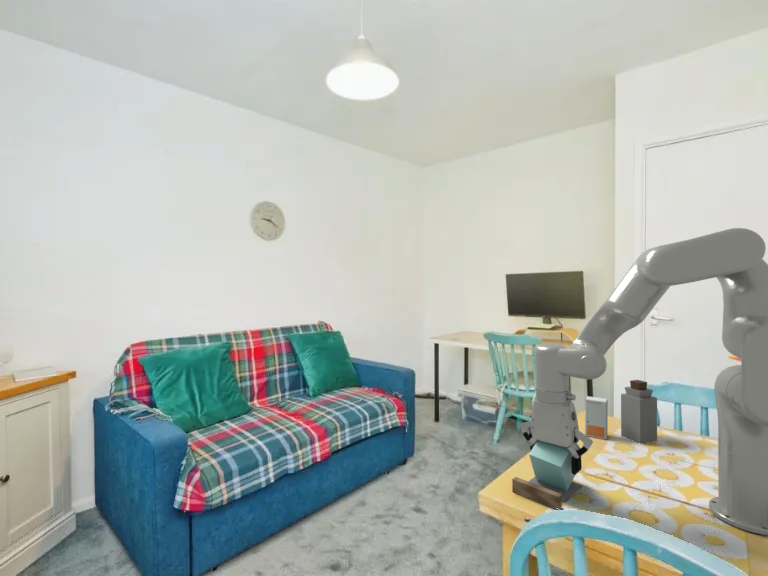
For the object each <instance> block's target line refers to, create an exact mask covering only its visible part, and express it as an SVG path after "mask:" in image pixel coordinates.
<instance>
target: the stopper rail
mask: <svg viewBox="0 0 768 576" xmlns="http://www.w3.org/2000/svg"><path fill="white" fill-rule="evenodd" d="M511 481H512V483H511V486H512V488H511V489H512V492H513V493H514V494H516V495H520V496H523V497H525V498H527V499H530V500H531V501H534V502H537V503H539V504H542V505H544V506H546V507H549V508H551V507H554V508H558V509H560V510H561V509H562V508H563V502H562V494H560V493H557V492H555V491H552V490H549V489H547V488H544V487H541V486H539V485H536V484H533V483H531V482H528V481H529V480H525V479H523V478H519V477H517V476H515V477H513V478H512V480H511ZM561 507H562V508H561ZM554 508H553V509H554Z"/></svg>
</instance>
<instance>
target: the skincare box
mask: <svg viewBox="0 0 768 576" xmlns="http://www.w3.org/2000/svg"><path fill="white" fill-rule="evenodd" d="M608 401H609V399H608V398H604V397H597V396H589V395H587V396H586V398H585V404H584V405H585V409H584V410H585V414H584V417H585V418H584V423H585V424H584V425H585V427H584V428H585V429H584V430H585V432H584V435H586V436H587V437H592V438H597V439H601V440H604V441H605V440H607V437H608V424H609V422H608V421H609V419H608V412H609V410H608V407H609V405H608V404H609V403H608Z"/></svg>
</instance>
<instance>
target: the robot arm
mask: <svg viewBox="0 0 768 576" xmlns="http://www.w3.org/2000/svg"><path fill="white" fill-rule="evenodd" d="M765 254H766V243H765V241H764V239H763V238H762V236H761V235H760V234H759V233H757V232H755V231H754V230H752V229H748V228H742V227H734V228H733V227H732V228H729V229H725V230H721V231H717V232H713V233H710V234H705V235H701V236H697V237H694V238H690V239H685V240H681V241H677V242H672V243H667V244H662V245H661V244H660V245H658V246H654V247H652V248H648V249H646V250H645V251H643V252H642V253H640V255H639V256H638V257H637V258H636V259H635V261H634V263H632V265H631V266H630V268H629V269H628V271H627V272H626V273H625V274H624V276H623V277H622V279H621V280H620V281H619V282H618V284H617V286H615V288H614V289H613V290H612V292H611V293H610V294H609V296H608V297H607V299H606V300H605V301H604V302H603V303H602V304H601V306H599V308H598V310H597V311H596V313H595V314H594V315H593V316H592V317H591V319H589V321H588V322H587V323H586V325H585V326H583V328H582V330H581V331H580V332H579V334H578V335H577V336H576V337H575V339H574V340H573V342H572V343H571V345H570V346H569V347H566V346H565V345H563V344H562V345H561V344H558V343H541V344H538V345H537V346H536V347H535V348H534V375H535V398H534V400H533V403H532V409H531V419H530V420H528V421H526V422H523V423H521V424H519V428H520V430H521V433H522V435H523V437H524V439H525V440H526V441H527V444H528V445H529V449H530V452H531V450H532V449H533V447H534V445H535V444H536V442H537V440H539V441H542V442H546V443H550V444H554V445H557V446H561V447H566V448H568V449H569V451H570V452H571V453H572V455H573V456H572V457H571V470H572V474H574V475H575V476H577V474H578V473H579V472H581V470H582V456H583V455H584V454H586V453H588V451H589V450H590V448H591V447H592V446H593V442H594V440H593V439H592V438H590V436H586V435H585V433H583V432H582V431H580V430H579V428H580V427H579V421H578V415H577V411H576V407H575V404H574V402H573V401H576V394H573V393H571V390H570V377H571V378H577V379H581V380H596V379H598V378H600V377H602V376H603V375H604V374H605V372H606V370H607V359H606V357H605V354H607V352H608V351H609V349H610V348H611V347H612V346H613V345H614V344H615V342H616V341H617V340H618V339H619V338H621V336H623V334H624V333H626V332H628V331H630V330H632V329H634V328H636V327H637V326H639V325H641V324H642V322H643V321H644V320H646V318H647V317H648V315H649V314H650V313H651V311H653V309H654V307H655V306H656V305H657V304H658V302H659V301H660V300H661V299H662V297H663V296H664V294H666V292H667V291H669V289H670V287H673V286H679V285H684V284H689V283H695V282H700V281H705V280H709V279H715V278H716V279H717V280H718V282H719V284H720V286H721V289H722V301H723V311H722V328H721V329H722V331H721V341H722V345H723V347H724V348H725V349H726V351H727V352H729V353H730V354H731V355H733V356H735V357H737V358H739V359H740V360H741V364H735V365H731V366H728V367H726V368H724V369H722V370H721V371H720V372H719V374H718V375H717V376H716V379H715V381H714V390H713V391H714V398H715V404H716V411H717V412H716V413H717V424H718V428H717V430H718V431H717V434H718V437H717V439H718V440H717V441H718V444H717V445H718V446H717V449H718V451H717V452H718V457H717V458H718V459H717V460H718V461H717V462H718V465H717V466H718V469H717V470H718V474H717V475H718V476H717V477H718V481H717V483H718V486H717V487H718V489H717V490H718V491H717V492H718V494H717V495H718V496H716V497H713V498H711V499H710V500H708V501H709V502H708V507H709V510H710V512H711V513H712V514H713V515H714V516H716V517H717V518H718V519H720V520H721V521H722V522H725V523H726V524H729V525H731V526H734V527H735V528H737V529H740V530H744V531H747V532H750V533H754V534H758V535H762V536H768V263H767V262H766V261H765V260H764V259H763V258H764V256H765ZM529 428H531V429H530V430H531V432H530V430H529ZM580 441H581V442H582V443H583V445H582V447H580V445H579V444H578V443H579V442H580ZM530 452H529V453H530Z"/></svg>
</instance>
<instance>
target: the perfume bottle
mask: <svg viewBox="0 0 768 576" xmlns="http://www.w3.org/2000/svg"><path fill="white" fill-rule="evenodd" d="M629 383H630V386H624V389H625V391H624V392H625V393H620V408H621V409H620V434H621V435H620V436H621V437H623V438H625V437H626V438H625V439H627V438H628V439H627V440H630V441H632V440H633V441H632V442H634V441H635V443H637V444H639V443H640V444H639V445H641V443H643V444H647V442H649V443H654V442H653V441H655V442H658V397H656V396H653V392H654V389H651V388H647V387H648V382H647V381H644V380H640V379H633V380H629Z"/></svg>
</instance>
